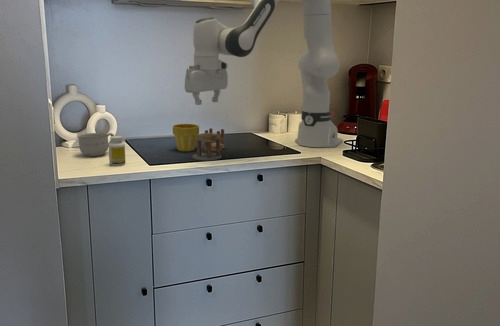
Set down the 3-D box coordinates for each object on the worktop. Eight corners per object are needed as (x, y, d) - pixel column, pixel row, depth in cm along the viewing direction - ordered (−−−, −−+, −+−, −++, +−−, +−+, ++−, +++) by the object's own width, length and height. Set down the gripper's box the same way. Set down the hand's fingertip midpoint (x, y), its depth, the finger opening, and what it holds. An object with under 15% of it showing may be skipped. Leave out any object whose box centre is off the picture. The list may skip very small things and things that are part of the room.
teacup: (83, 159, 182) (82, 137, 180) (75, 153, 190) (74, 133, 188) (121, 155, 189) (120, 134, 187) (111, 150, 198) (110, 129, 196)
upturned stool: (210, 147, 205) (210, 128, 204) (224, 148, 204) (224, 129, 202) (204, 150, 200) (204, 130, 198) (219, 151, 198) (219, 131, 196)
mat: (205, 152, 195) (205, 151, 195) (227, 156, 189) (227, 155, 189) (186, 157, 186) (186, 156, 186) (208, 162, 180) (208, 160, 180)
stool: (207, 153, 192) (207, 132, 190) (219, 155, 189) (219, 134, 187) (197, 155, 188) (197, 134, 186) (209, 158, 184) (209, 136, 182)
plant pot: (194, 153, 194) (194, 128, 192) (169, 151, 196) (168, 127, 194) (202, 147, 204) (202, 124, 202) (178, 146, 206) (177, 122, 204)
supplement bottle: (128, 164, 175) (127, 136, 173) (115, 167, 171) (113, 138, 169) (119, 161, 179) (118, 134, 176) (106, 164, 175) (104, 136, 172)
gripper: (193, 66, 170) (194, 107, 173) (230, 64, 186) (230, 101, 189) (179, 65, 173) (180, 105, 176) (217, 63, 189) (217, 100, 193)
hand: (206, 103), depth 183 cm, fingers open, 8 cm apart
